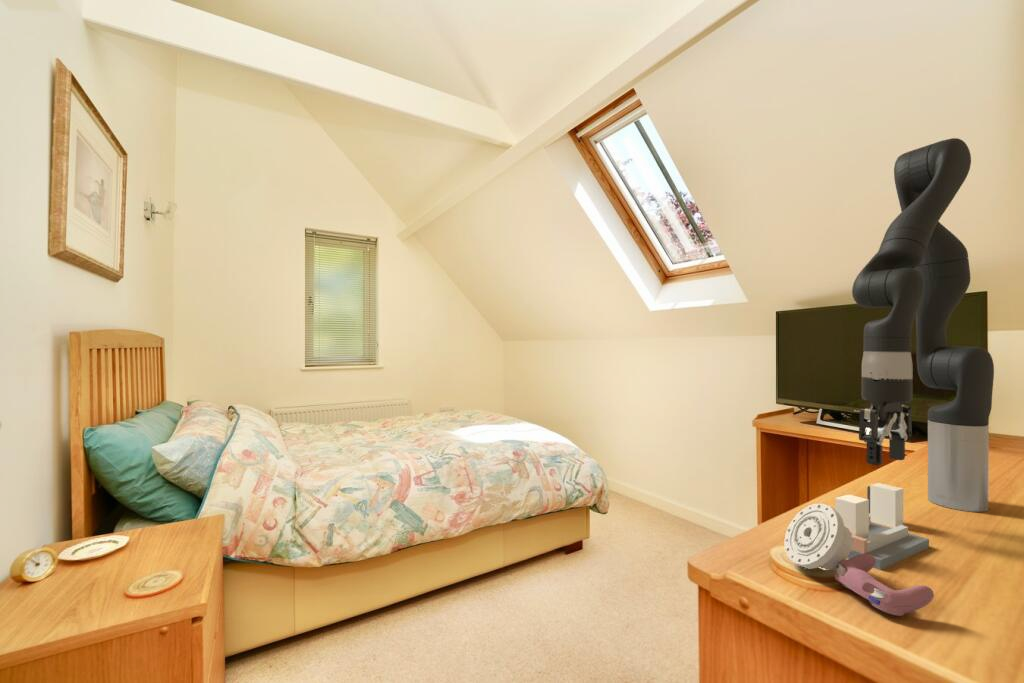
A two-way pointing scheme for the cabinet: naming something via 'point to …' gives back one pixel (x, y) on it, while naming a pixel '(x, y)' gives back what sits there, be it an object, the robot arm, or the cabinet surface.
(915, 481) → the cabinet surface
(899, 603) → the pink curved lobed piece
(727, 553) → the cabinet surface
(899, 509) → the cream block
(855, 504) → the rail mount
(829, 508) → the mechanical component
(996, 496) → the cabinet surface
